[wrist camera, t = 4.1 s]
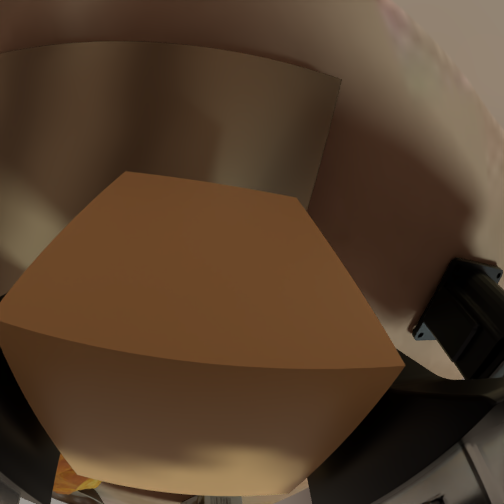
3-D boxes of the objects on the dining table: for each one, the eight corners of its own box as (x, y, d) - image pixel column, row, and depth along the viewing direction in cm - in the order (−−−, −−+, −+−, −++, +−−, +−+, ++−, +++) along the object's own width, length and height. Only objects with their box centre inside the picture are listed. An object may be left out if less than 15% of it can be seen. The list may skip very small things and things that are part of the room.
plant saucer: (11, 444, 26) (6, 460, 23) (117, 488, 32) (115, 504, 30) (16, 467, 32) (13, 479, 30) (97, 501, 38) (95, 513, 36)
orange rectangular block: (296, 197, 9) (405, 365, 3) (258, 327, 12) (289, 493, 6) (125, 171, 8) (-12, 317, 2) (123, 309, 11) (77, 474, 5)
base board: (331, 80, 11) (341, 79, 10) (240, 396, 20) (241, 410, 19) (-2, 57, 8) (-17, 57, 7) (30, 360, 17) (25, 371, 16)
